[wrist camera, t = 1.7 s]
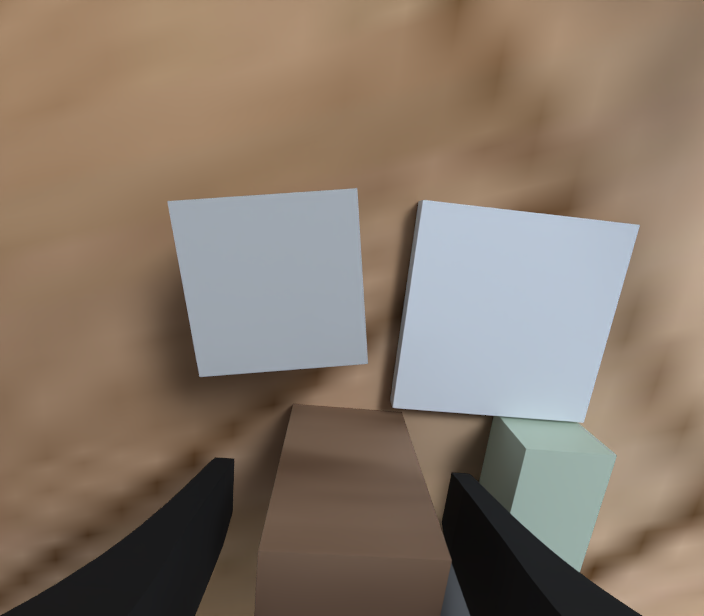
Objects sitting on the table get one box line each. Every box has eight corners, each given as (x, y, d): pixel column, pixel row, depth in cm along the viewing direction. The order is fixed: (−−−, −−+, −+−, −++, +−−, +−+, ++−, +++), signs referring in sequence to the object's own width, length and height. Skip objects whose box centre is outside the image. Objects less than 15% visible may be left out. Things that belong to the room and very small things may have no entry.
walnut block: (387, 502, 14) (422, 697, 8) (286, 496, 14) (249, 694, 8) (401, 411, 13) (451, 560, 7) (293, 403, 13) (257, 550, 7)
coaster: (572, 413, 14) (583, 422, 13) (390, 399, 13) (392, 407, 12) (624, 224, 12) (639, 225, 11) (418, 200, 11) (422, 199, 11)
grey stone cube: (358, 319, 12) (367, 364, 9) (243, 327, 12) (199, 376, 8) (350, 199, 12) (357, 188, 8) (225, 208, 11) (167, 201, 8)
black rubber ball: (461, 585, 15) (495, 685, 12) (382, 582, 15) (395, 683, 12) (476, 519, 15) (517, 607, 11) (393, 514, 14) (410, 602, 11)
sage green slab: (538, 521, 15) (576, 579, 13) (468, 517, 15) (494, 576, 12) (567, 414, 14) (616, 455, 11) (492, 408, 14) (526, 449, 11)
